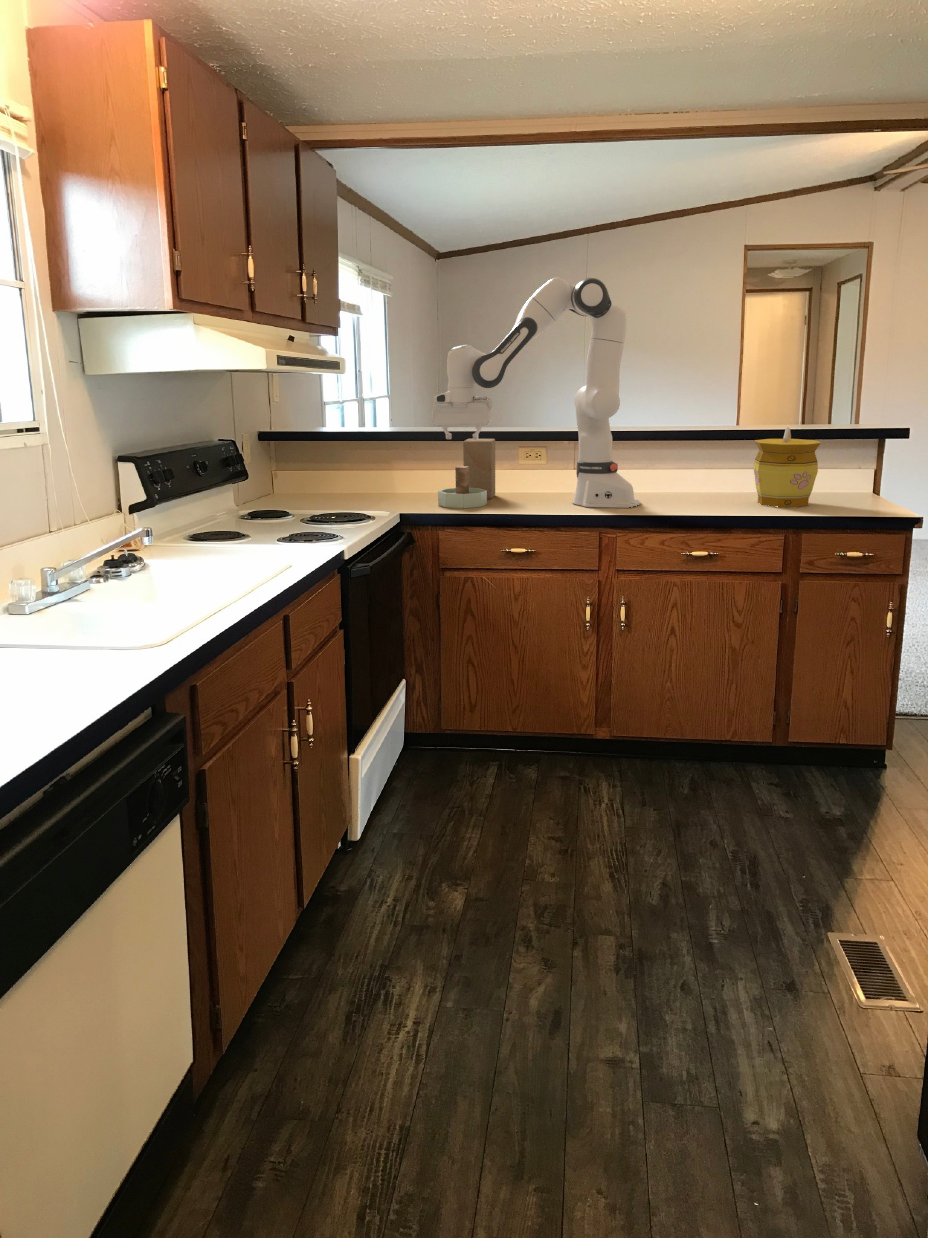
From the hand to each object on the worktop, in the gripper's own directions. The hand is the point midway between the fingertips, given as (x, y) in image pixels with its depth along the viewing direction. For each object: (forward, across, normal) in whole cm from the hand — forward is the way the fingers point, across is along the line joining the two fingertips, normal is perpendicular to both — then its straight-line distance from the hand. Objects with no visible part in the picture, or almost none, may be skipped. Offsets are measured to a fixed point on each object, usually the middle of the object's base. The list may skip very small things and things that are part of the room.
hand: (462, 439), depth 329 cm
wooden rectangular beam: (+21, 0, 0) cm, 21 cm away
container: (+23, -102, -30) cm, 108 cm away
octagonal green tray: (+22, 0, 0) cm, 22 cm away
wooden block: (+22, 0, -18) cm, 28 cm away
